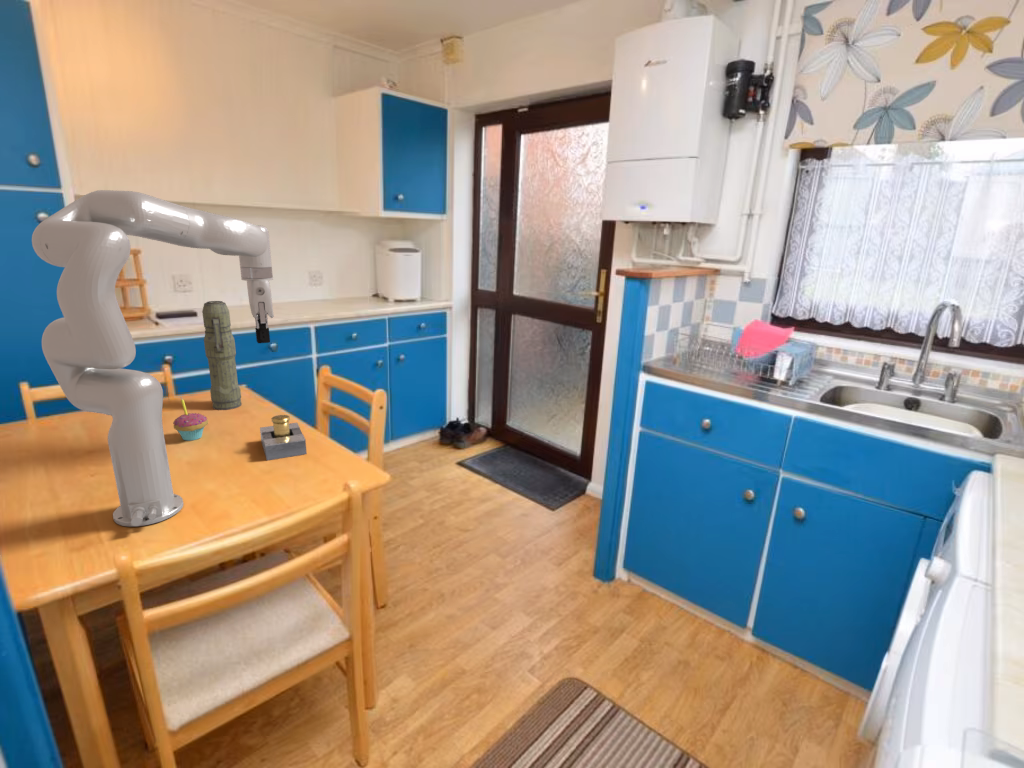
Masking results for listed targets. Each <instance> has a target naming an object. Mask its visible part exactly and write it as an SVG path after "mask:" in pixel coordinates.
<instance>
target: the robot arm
mask: <svg viewBox="0 0 1024 768" xmlns="http://www.w3.org/2000/svg"><path fill="white" fill-rule="evenodd" d="M128 236H133V237H138V238H142V239H148V240H152V241H157V242H162V243H166V244H170V245H175V246H179V247H183V248H185V247H186V248H192V249H203V250H204V249H205V250H206V249H207V250H208V249H209V250H210V251H211V252H213V253H214V254H218V255H221V256H234V257H238V258H239V259H238V260H239V267H240V278H241V280H242V281H246V286H247V295H248V296H247V297H248V303H249V309H250V313H251V315H252V317H253V318H254V321H255V328H254V329H255V330H254V331H255V337H256V338H255V339H256V342H257V344H268V343H271V336H270V327H269V322H268V321H269V320H268V317H270V318H271V319H272V318H274V317H275V316H274V315H275V314H274V308H273V299H272V298H273V297H272V292H271V291H272V290H271V285H270V281H272V280H274V277H273V265H272V255H271V252H272V251H271V243H270V233H269V230H268V228H267V227H266V226H264V225H258V224H254V223H252V222H249V221H246V220H242V219H239V218H234V217H231V216H225V215H223V214H222V215H221V214H216V213H212V212H208V211H205V210H201V209H197V208H192V207H188V206H185V205H180V204H177V203H174V202H173V201H172V202H171V201H167V200H165V199H162V198H159V197H155V196H153V195H149V194H146V193H142V192H138V191H133V190H132V191H131V190H110V189H109V190H108V189H104V190H103V189H99V190H94V191H91V192H89V193H86V194H84V195H83V196H80V197H79V198H77V199H76V200H74V201H73V202H71V203H69V204H68V205H66V206H64V207H63V208H61V209H60V210H58V211H56V212H55V213H53V214H51V215H50V216H48V217H46V218H45V219H43V220H42V221H41V222H40V223H39V224H38V225H37V226H36V227H35V228H34V231H33V232H32V235H31V244H32V245H31V246H32V248H33V250H34V253H35V254H36V255H37V257H39V258H40V259H41V260H42V261H44V262H45V263H47V264H50V265H52V266H55V267H59V268H63V270H62V272H61V275H60V278H59V280H58V281H57V282H58V283H57V287H56V300H57V303H58V305H59V306H58V307H59V308H60V311H61V312H62V313H61V314H62V317H60V318H57V319H55V320H53V321H52V322H50V323H48V325H47V326H46V327H45V329H44V331H43V333H42V337H41V349H42V353H43V355H44V357H45V360H46V362H47V364H48V365H49V367H50V369H51V371H52V374H53V375H54V377H55V379H56V381H57V382H58V385H59V386H60V389H61V390H62V392H63V394H64V396H65V397H66V399H67V400H68V401H69V403H70V404H71V405H73V407H75V408H77V409H79V410H80V411H85V412H87V413H93V414H94V413H95V414H103V415H107V416H111V417H112V422H111V424H110V427H109V430H108V433H107V445H108V449H109V454H110V459H111V465H112V469H113V475H114V478H115V486H116V489H117V495H118V499H119V506H118V507H117V508H116V509H115V510H114V511H113V512H112V519H113V521H114V522H115V523H116V524H117V525H118V526H122V527H143V526H149V525H153V524H157V523H160V522H162V521H166V520H167V519H169V518H172V517H173V516H175V515H177V513H179V512H180V511H181V510H182V509H183V507H184V499H183V497H181V496H180V495H179V494H176V493H174V489H173V484H172V477H171V471H170V470H171V469H170V464H169V458H168V452H167V446H166V440H165V435H164V427H163V404H164V389H163V387H162V384H161V382H160V381H159V380H158V379H157V377H154V375H151V374H150V373H147V372H144V371H141V370H135V369H128V368H127V369H126V368H125V367H128V366H130V365H131V363H132V362H133V361H134V360H135V358H136V356H137V355H136V352H137V350H136V343H135V341H134V339H133V337H132V334H131V332H130V329H129V326H128V324H127V322H126V320H125V317H124V315H123V313H122V310H121V307H120V305H119V302H118V299H117V295H116V284H117V280H118V277H119V275H120V273H121V271H122V270H123V268H124V267H125V265H126V263H127V262H128V260H129V257H130V255H131V242H130V239H129V237H128Z"/></svg>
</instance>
